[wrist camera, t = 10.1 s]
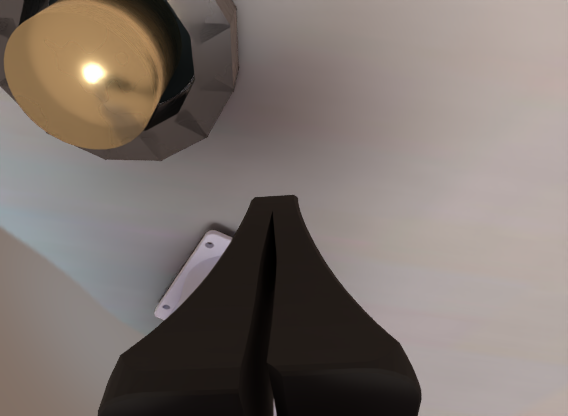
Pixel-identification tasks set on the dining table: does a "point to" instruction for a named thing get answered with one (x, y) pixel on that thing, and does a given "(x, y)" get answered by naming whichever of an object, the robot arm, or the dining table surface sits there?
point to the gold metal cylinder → (93, 68)
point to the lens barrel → (194, 60)
